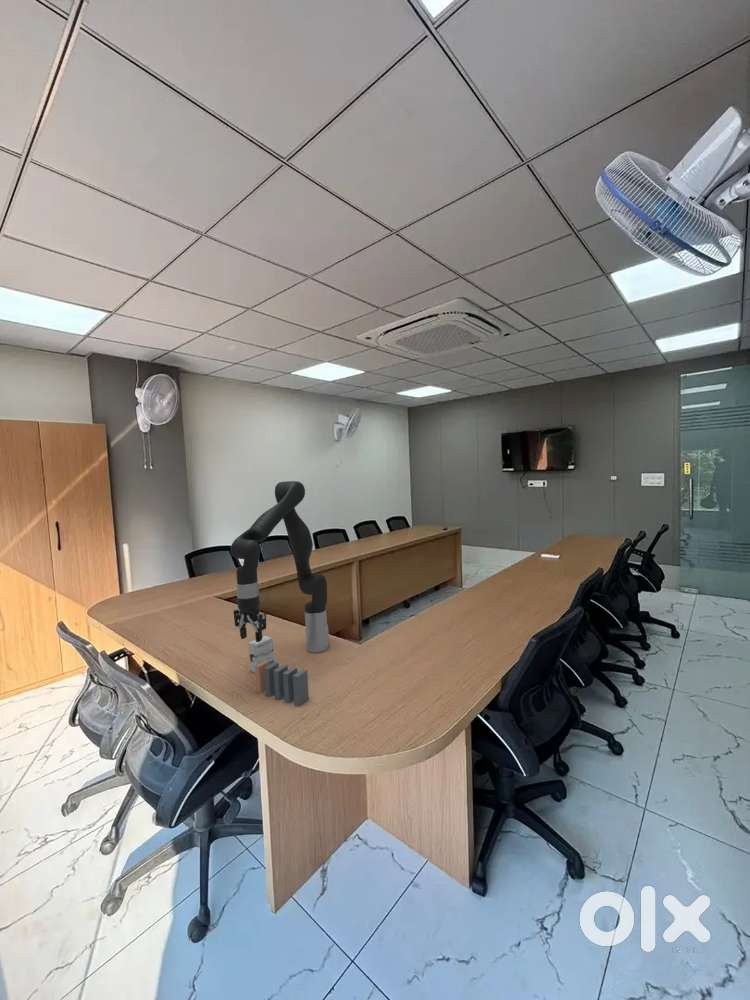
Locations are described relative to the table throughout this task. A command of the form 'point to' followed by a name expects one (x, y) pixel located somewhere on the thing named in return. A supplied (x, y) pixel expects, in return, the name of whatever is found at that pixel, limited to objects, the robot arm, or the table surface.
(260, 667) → the domino
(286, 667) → the domino
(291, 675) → the domino
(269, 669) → the domino
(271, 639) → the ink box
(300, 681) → the domino
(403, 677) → the table surface
